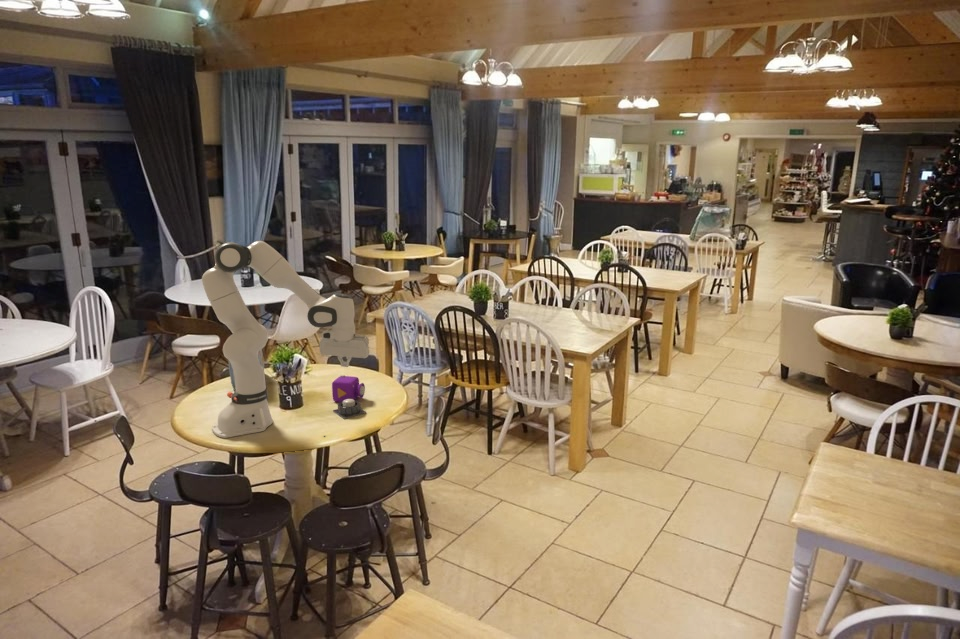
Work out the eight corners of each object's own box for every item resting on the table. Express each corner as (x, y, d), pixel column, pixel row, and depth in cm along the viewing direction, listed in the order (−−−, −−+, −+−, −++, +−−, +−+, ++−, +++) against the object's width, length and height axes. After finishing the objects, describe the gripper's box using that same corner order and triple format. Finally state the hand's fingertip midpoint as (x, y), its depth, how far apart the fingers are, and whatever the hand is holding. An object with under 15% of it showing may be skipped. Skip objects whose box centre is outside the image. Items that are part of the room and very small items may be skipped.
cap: (346, 414, 266) (346, 404, 265) (340, 410, 270) (340, 400, 269) (357, 411, 269) (357, 401, 268) (351, 407, 273) (351, 397, 272)
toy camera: (363, 404, 279) (362, 382, 276) (331, 404, 279) (330, 381, 276) (368, 395, 289) (367, 373, 287) (337, 395, 289) (336, 373, 287)
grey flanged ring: (344, 419, 263) (343, 410, 262) (332, 411, 271) (332, 403, 270) (366, 413, 269) (365, 404, 268) (354, 405, 277) (354, 397, 276)
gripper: (371, 333, 263) (372, 366, 266) (323, 329, 267) (325, 361, 270) (365, 337, 257) (366, 371, 260) (317, 333, 261) (318, 366, 264)
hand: (344, 366), depth 265 cm, fingers closed
